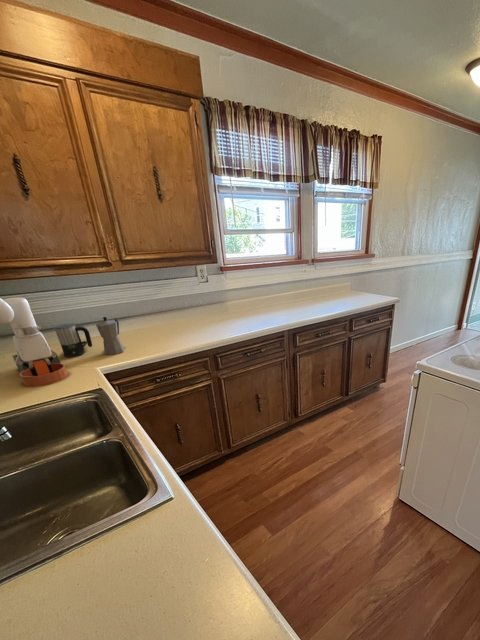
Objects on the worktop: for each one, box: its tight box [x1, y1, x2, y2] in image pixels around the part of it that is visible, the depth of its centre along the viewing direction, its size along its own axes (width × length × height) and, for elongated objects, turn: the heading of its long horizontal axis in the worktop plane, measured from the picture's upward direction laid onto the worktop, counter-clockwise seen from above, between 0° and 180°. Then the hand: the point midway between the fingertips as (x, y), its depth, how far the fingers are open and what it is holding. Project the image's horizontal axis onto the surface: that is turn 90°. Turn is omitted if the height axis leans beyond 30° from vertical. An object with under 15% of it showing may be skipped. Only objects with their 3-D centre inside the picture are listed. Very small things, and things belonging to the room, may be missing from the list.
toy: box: [32, 360, 50, 376], centre depth 133 cm, size 4×4×6 cm
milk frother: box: [52, 323, 93, 358], centre depth 166 cm, size 14×16×15 cm
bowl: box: [19, 362, 69, 387], centre depth 135 cm, size 15×15×5 cm
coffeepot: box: [95, 316, 125, 356], centre depth 165 cm, size 15×9×18 cm, turn 174°
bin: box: [12, 354, 61, 373], centre depth 145 cm, size 13×13×8 cm
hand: (43, 374), depth 134 cm, fingers closed on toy, 4 cm apart
